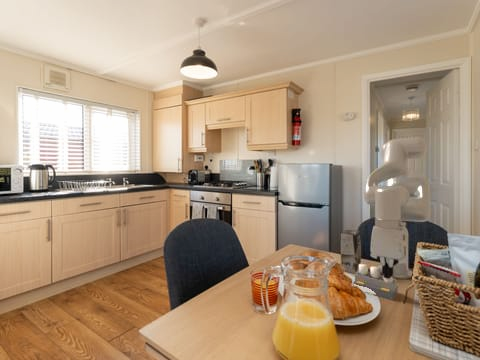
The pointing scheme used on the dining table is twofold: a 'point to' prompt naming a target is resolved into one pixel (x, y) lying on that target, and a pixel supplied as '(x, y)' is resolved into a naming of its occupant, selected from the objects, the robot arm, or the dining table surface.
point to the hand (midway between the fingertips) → (387, 276)
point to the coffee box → (351, 250)
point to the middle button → (375, 272)
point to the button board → (378, 285)
